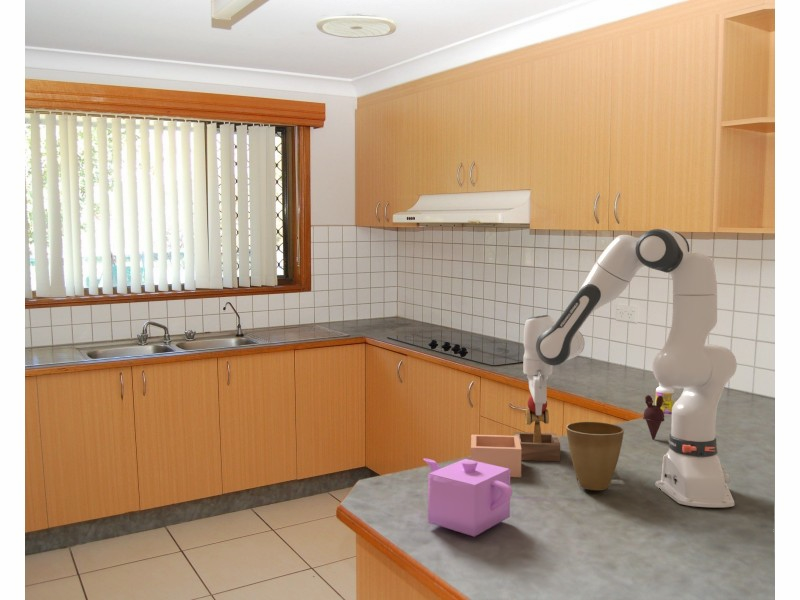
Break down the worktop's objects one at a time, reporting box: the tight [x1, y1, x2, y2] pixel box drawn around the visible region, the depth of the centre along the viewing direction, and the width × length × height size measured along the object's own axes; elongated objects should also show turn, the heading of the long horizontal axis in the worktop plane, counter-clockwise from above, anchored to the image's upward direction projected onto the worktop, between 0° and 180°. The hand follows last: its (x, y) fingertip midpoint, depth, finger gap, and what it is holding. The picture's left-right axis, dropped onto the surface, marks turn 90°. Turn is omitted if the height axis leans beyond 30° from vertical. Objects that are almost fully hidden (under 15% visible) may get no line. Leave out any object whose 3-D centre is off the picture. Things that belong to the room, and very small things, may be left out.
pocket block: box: [513, 431, 561, 462], centre depth 221 cm, size 13×13×5 cm
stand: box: [470, 434, 522, 478], centre depth 206 cm, size 14×14×8 cm
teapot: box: [423, 458, 513, 538], centre depth 168 cm, size 15×25×14 cm, turn 51°
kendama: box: [524, 395, 550, 443], centre depth 221 cm, size 8×6×18 cm
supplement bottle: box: [654, 382, 675, 414], centre depth 273 cm, size 7×7×13 cm
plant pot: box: [565, 421, 625, 491], centre depth 191 cm, size 15×15×16 cm
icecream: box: [642, 394, 665, 441], centre depth 237 cm, size 7×7×15 cm
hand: (537, 412), depth 220 cm, fingers closed on kendama, 6 cm apart
